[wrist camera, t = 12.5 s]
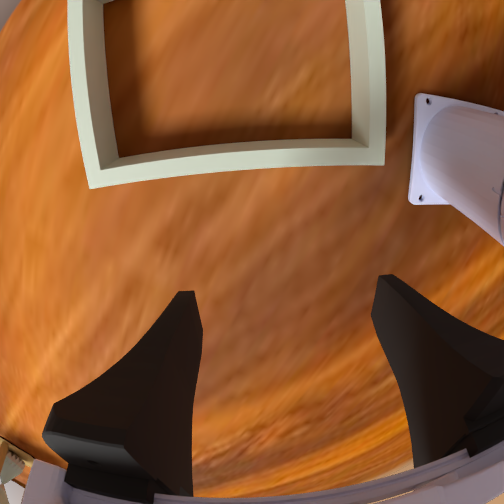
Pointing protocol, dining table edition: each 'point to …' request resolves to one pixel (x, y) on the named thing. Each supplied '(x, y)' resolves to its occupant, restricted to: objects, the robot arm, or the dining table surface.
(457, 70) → the dining table surface
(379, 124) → the pale grey-green open frame
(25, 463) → the hourglass
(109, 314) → the dining table surface
